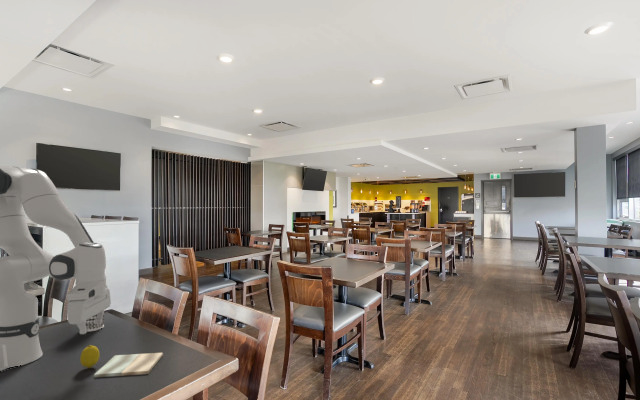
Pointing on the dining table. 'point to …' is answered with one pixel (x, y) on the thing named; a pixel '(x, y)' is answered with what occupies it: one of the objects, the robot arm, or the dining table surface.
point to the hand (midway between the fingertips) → (91, 328)
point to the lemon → (89, 356)
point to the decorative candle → (92, 326)
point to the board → (129, 365)
